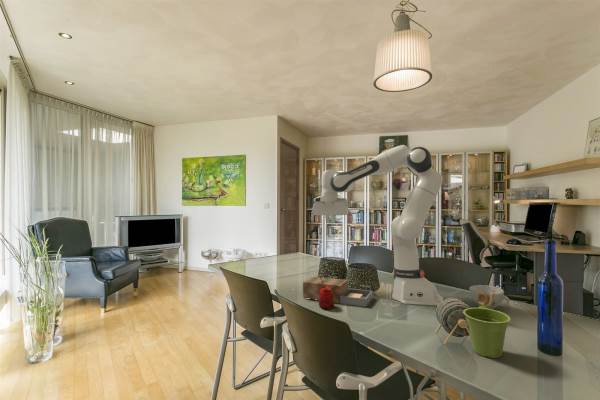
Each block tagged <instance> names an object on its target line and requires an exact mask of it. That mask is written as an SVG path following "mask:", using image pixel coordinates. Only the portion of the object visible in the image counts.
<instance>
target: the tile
mask: <svg viewBox="0 0 600 400" xmlns="http://www.w3.org/2000/svg"><path fill="white" fill-rule="evenodd" d="M347 297H355V298H363V294H355V293H350V294H349V295H348V296H347Z"/></svg>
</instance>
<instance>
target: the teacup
mask: <svg viewBox="0 0 600 400" xmlns="http://www.w3.org/2000/svg"><path fill="white" fill-rule="evenodd" d="M493 290H494V291H495V292H492V291H493ZM480 292H484V293H486V294H487V295H488V296H489V297H491V296H490V294H491V293H493V294H494V295H495V296H494V300H493V303H492V305H491V306H488V307H490V308H491V309H492V310H495V309H496V308H497V307H507V306H508V305H509V303H510V299H509V297H508V296H507V295H505V291H504V289H502V288H501V287H497V286H493V285H486V284H485V285H482V284H475V285H470V287H469V293H470V296H471V298H472V300H473V301H474V303H475V304H476V305H477V307H479V306H482V305H480V304H479V303H478V301H479V299H478V294H479V293H480ZM504 299H505V300H506V303H502V302H503V300H504Z"/></svg>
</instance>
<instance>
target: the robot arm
mask: <svg viewBox="0 0 600 400" xmlns="http://www.w3.org/2000/svg"><path fill="white" fill-rule="evenodd" d="M433 162H434V161H433V158H432V154H431V152H430V151H429V150H428V149H427V148H426V147H425V146H416V147H413V148H412V149H410V147H408V146H407V145H406V144H400V145H398V146H394V147H391V148H389V149H387V150H385V151H383V152H381V153H380V154H378V155H376V156H375V157H373V158H371V159H370V160H368V161H366V162H364V163H363V164H360V165H358V166H356V167H354V168H352V169H349V170H347V171H338V170H337V169H335V168H330V169H326V170H324V171H323V172H322V174H321V188H322V189H321V190H322V191H321V195H320V196H317V197H315V198H313V202H314V203H313V204H312V210H311V211H312V215H314V216H325V219H326V221H327V224H334V220H335V218H336V216H345V215H346V216H348V214H349V207H348V206H349V200H348V199H347V198H345V197H342V198H341V197H340V198H339V194H338V193H341V192H342V193H348V192H349V193H350V192H351V191H352V190H354V187H355V185H356V182H357V181H359V180H361V179H363V178H366V177H370V176H384V175H388V174H389V173H392V172H394V171H396V170H398V169H400V168H404V167H405V168H406V169H408V170H409V171H410V173H411V174H412V175H414V176H415V177H417V178H416V179H417V180H416V182H415V183H414V185H413V187H412V189H411V191H410V193H409V194H408V196H407V198H406V200H405V203H404V207H403V210H402V212H401V214H400V215H398V216H396V217H394V219H393V220H392V222H391V223H390V230H391V231H390V232H391V239H392V247H393V258H394V259H393V260H394V261H393V263H394V267H393V273H392V274H393V280H394V282H393V290H392V294H391V298H392V299H394V300H395V301H398V302H400V303H403V304H404V305H421V306H437V304H438V303H439V302H441V301H443V302H444V298H443V297H442V295H440V294H439V292H438V288H436V285H435V284H433V282H431V281H430V280H428V279H427V278H425V272H424V269H421V268H420V263H419V262H420V261H419V260H420V258H419V249H418V246H417V241H416V239H418V238H419V237H420V236H421V234H422V233H423V227H424V224H425V222H426V219H427V216H428V214H429V211H430V209H431V207H432V205H433V203H434V202H435V200H436V198H437V196H438V194H439V191H440V189H441V187H442V184H443V180H444V179H443V175H442V174H441V173H440V172H439V171H437V170H435V169H434V163H433ZM330 216H331V219H329V218H330Z"/></svg>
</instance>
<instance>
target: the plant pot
mask: <svg viewBox="0 0 600 400" xmlns="http://www.w3.org/2000/svg"><path fill="white" fill-rule="evenodd" d="M462 313H463V315H464V316H465V320H466V322H467V325H468V329H469V335H470V340H471V346H472V350H473V351H474V352H475V353H476V354H478V355H479V356H482V357H488V358H491V359H498V358H500V357H502V355H503V351H504V350H503V349H504V344H505V338H506V332H507V328H508V325H509V322H510V321H511V317H510V315H508V314H506V313H504V312H502V311H500V310H495V309H492V310H491V309H486V308H478V307H470V308H466V309H464V310H463V312H462Z"/></svg>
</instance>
